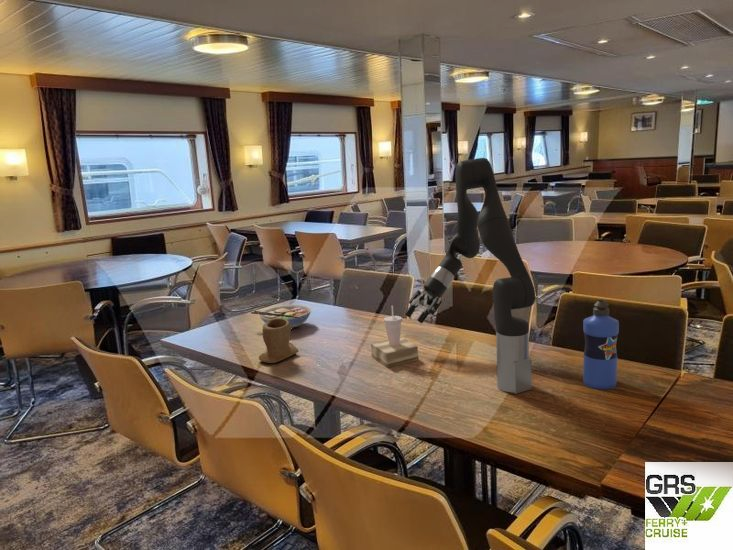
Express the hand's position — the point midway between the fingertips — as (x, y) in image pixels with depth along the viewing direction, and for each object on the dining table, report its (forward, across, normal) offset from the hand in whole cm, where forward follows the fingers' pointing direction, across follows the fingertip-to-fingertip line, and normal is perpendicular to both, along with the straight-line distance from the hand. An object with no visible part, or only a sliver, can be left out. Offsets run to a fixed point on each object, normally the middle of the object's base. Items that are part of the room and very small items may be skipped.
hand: (413, 318), depth 190 cm
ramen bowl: (+30, -60, -11) cm, 68 cm away
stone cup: (+39, -25, -20) cm, 51 cm away
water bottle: (-13, +53, +31) cm, 63 cm away
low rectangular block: (+15, 0, +3) cm, 15 cm away
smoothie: (+11, 0, 0) cm, 11 cm away
